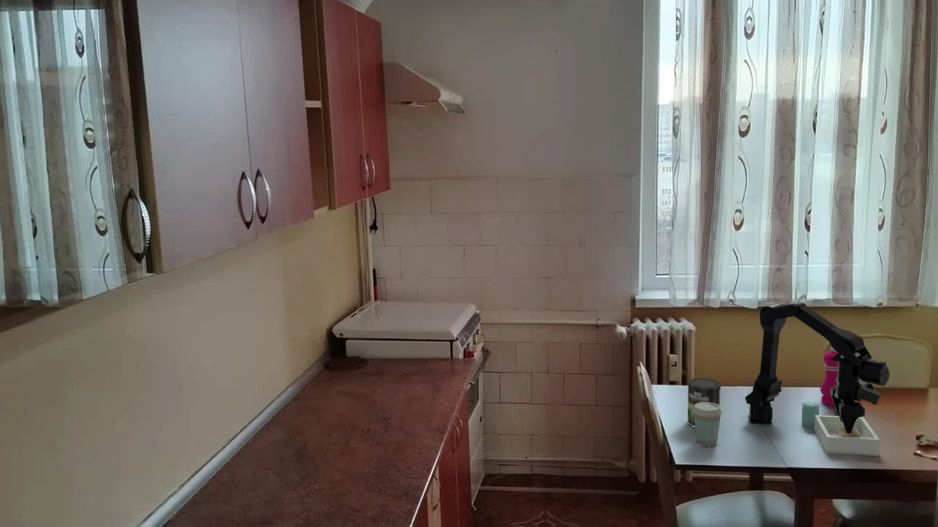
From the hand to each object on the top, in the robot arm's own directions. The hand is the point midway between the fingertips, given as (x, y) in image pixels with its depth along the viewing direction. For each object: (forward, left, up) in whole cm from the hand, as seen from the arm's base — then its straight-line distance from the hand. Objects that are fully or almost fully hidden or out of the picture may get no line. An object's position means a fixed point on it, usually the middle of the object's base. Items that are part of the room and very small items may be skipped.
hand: (845, 427), depth 220 cm
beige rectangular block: (+1, -1, -6) cm, 6 cm away
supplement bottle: (+4, +20, -6) cm, 21 cm away
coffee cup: (-40, -4, -6) cm, 40 cm away
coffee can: (-40, +12, -6) cm, 42 cm away
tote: (+1, +3, -6) cm, 7 cm away
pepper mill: (+4, +39, -6) cm, 40 cm away
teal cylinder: (-7, +16, -6) cm, 18 cm away
